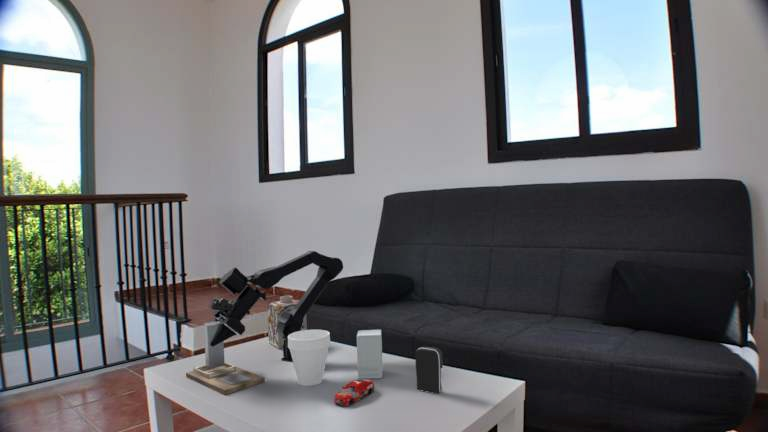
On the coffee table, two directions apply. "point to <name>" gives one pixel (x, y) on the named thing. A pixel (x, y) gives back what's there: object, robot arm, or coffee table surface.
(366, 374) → the supplement box
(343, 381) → the coffee table surface
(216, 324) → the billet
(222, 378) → the wooden board
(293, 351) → the cup
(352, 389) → the race car
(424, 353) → the battery charger
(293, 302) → the decorative jar
